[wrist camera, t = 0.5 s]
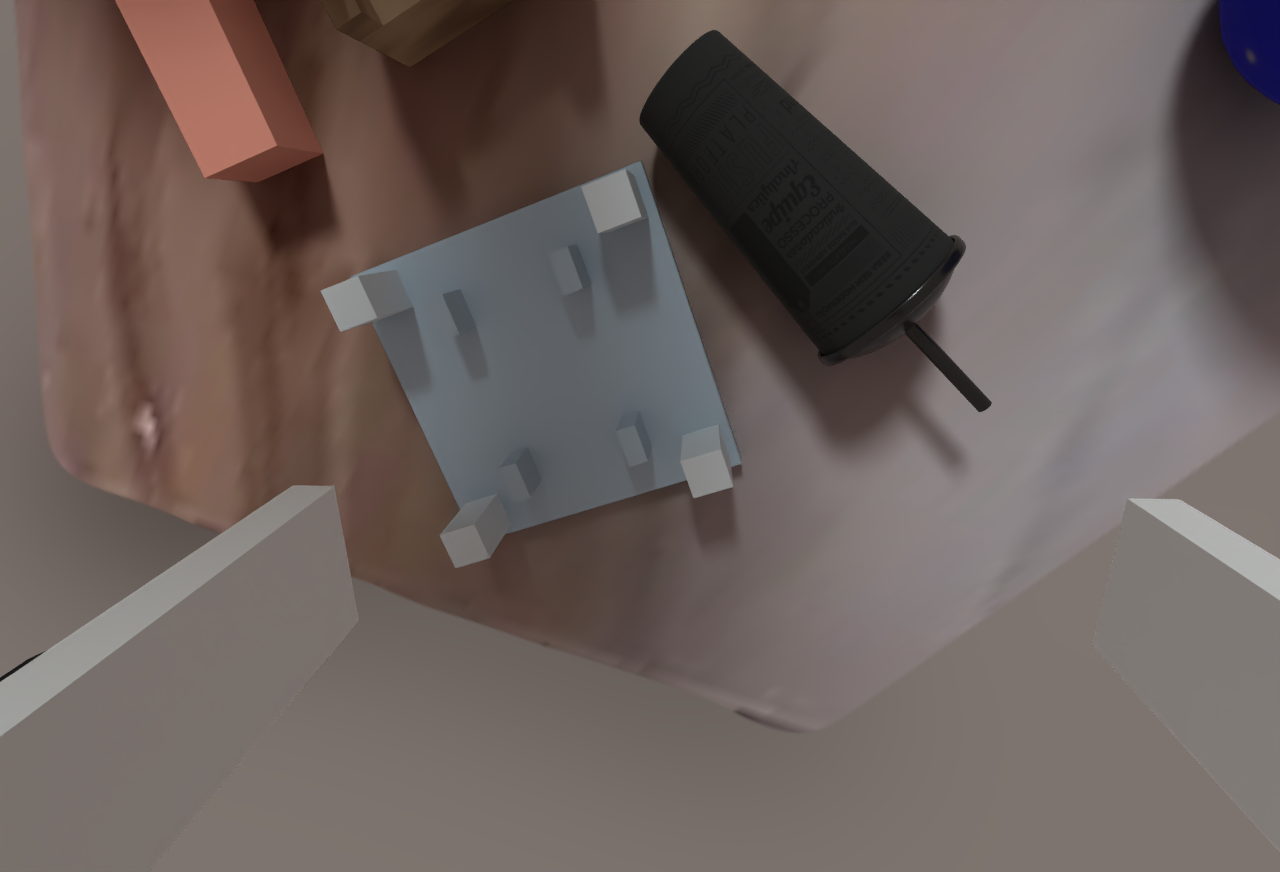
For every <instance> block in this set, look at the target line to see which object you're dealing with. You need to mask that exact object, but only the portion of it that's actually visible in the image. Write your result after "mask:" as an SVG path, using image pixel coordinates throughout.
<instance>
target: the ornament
mask: <svg viewBox="0 0 1280 872" xmlns="http://www.w3.org/2000/svg"><path fill="white" fill-rule="evenodd" d="M1218 2H1219V18H1220V27H1221V35H1222V41H1223V43H1224V46H1225V48H1226V50H1227V52H1228V54H1229V57H1230V59H1231V61H1232V63H1233V65H1234V67H1235V68H1236V69H1237V71H1238V72H1239V73H1240V74H1241V75H1242V76H1243V78H1244V79H1245V80H1246V81H1247V82H1248V83H1249V84H1250V85H1252V86H1253V87H1254V88H1255V89H1257V90H1258V91H1259V92H1260V93H1262V94H1263V95H1264V96H1266V97H1267V98H1269V99H1270V100H1272V101H1274V102H1275V103H1277V104H1279V105H1280V0H1218Z"/></svg>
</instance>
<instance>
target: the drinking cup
mask: <svg viewBox="0 0 1280 872" xmlns="http://www.w3.org/2000/svg"><path fill="white" fill-rule="evenodd" d="M639 121H640V124H641V126H642V127H643V128H644V130H645V131H646V132H647V134H648V135H649V136H650V137H651V139H652V140H653V141H654V142H655V144H656V145H657V146H658V147H659V149H660V150H661V151H662V152H663V154H664V155H665V156H666V158H667V159H668V160H669V161H670V163H671V164H672V165H673V166H674V168H675V169H676V170H677V171H678V173H679V174H680V175H681V176H682V178H683V179H684V180H685V182H686V183H687V184H688V185H689V187H690V188H691V189H692V190H693V192H694V193H695V194H696V195H697V197H698V198H699V199H700V200H701V202H702V203H703V204H704V205H705V207H706V208H707V209H708V211H709V212H710V213H711V214H712V216H713V217H714V218H715V219H716V221H717V222H718V223H719V224H720V226H721V227H722V228H723V229H724V231H725V232H726V233H727V235H728V236H729V237H730V238H731V240H732V241H733V242H734V243H735V245H736V246H737V247H738V248H739V250H740V251H741V252H742V253H743V255H744V256H745V257H746V259H747V260H748V261H749V262H750V264H751V265H752V266H753V267H754V269H755V270H756V271H757V272H758V274H759V275H760V276H761V277H762V279H763V280H764V281H765V283H766V284H767V285H768V286H769V288H770V289H771V290H772V291H773V293H774V294H775V295H776V296H777V298H778V299H779V300H780V301H781V303H782V304H783V305H784V306H785V308H786V309H787V310H788V312H789V313H790V314H791V315H792V317H793V318H794V319H795V320H796V322H797V323H798V324H799V325H800V327H801V328H802V329H803V330H804V332H805V333H806V334H807V336H808V337H809V338H810V339H811V341H812V342H813V343H814V344H815V346H816V347H817V348H818V349H819V351H818V358H819V360H820V361H821V362H822V363H823V364H825V365H827V366H832V365H835V364H838V363H841V362H843V361H845V360H847V359H851V358H856V357H860V356H863V355H866V354H869V353H872V352H874V351H876V350H878V349H880V348H882V347H884V346H886V345H888V344H890V343H891V342H893V341H894V340H896V339H898V338H899V337H901V336H902V335H903V334H906V335H907V336H908V337H909V338H910V339H911V340H912V341H913V342H914V344H915V345H916V346H917V347H918V348H919V349H920V350H921V351H922V352H923V353H924V354H925V355H926V356H927V357H928V358H929V360H930V361H931V362H932V363H933V364H934V365H935V366H936V367H937V368H938V369H939V370H940V371H941V372H942V373H943V374H944V375H945V377H946V378H947V379H948V380H949V381H950V382H951V383H952V384H953V385H954V386H955V387H956V388H957V389H958V390H959V391H960V393H961V394H962V395H963V396H964V397H965V398H966V399H967V400H968V401H969V402H970V403H971V404H972V405H973V406H974V407H975V408H976V410H977V411H978V412H982V411H984V410H986V409H987V408H989V407H990V405H991V403H992V402H991V401H990V400H989V399H988V398H987V397H986V396H985V395H984V394H983V393H982V391H981V390H980V389H979V388H978V387H977V386H976V385H975V384H974V383H973V382H972V381H971V380H970V379H969V378H968V377H967V375H966V374H965V373H964V372H963V371H962V370H961V369H960V368H959V367H958V366H957V365H956V364H955V363H954V362H953V361H952V359H951V358H950V357H949V356H948V355H947V354H946V353H945V352H944V351H943V350H942V349H941V348H940V347H939V346H938V344H937V343H936V342H935V341H934V340H933V339H932V338H931V337H930V336H929V335H928V334H927V333H926V332H925V331H924V330H923V328H922V327H921V326H920V325H919V324H918V322H919V321H920V320H921V319H922V318H923V317H924V316H925V315H926V314H927V313H928V311H929V310H930V309H931V308H932V307H933V306H934V304H935V303H936V302H937V300H938V299H939V298H940V296H941V295H942V293H943V292H944V290H945V288H946V286H947V284H948V283H949V281H950V278H951V276H952V274H953V271H954V268H955V267H956V266H957V264H958V263H959V261H960V260H961V258H962V256H963V254H964V252H965V249H966V245H965V242H964V241H963V240H962V239H961V238H960V237H959V236H957V235H951V236H948V235H947V234H945V233H944V232H943V231H942V230H941V229H940V228H939V227H938V226H936V225H935V224H934V223H933V222H932V221H931V220H930V219H929V218H927V217H926V216H925V215H924V214H923V213H922V212H921V211H920V210H918V209H917V208H916V207H915V206H914V205H913V204H912V203H911V202H909V201H908V200H907V199H906V198H905V197H904V196H903V195H902V194H900V193H899V192H898V191H897V190H896V189H895V188H894V187H893V186H892V185H890V184H889V183H888V182H887V181H886V180H885V179H884V178H883V177H881V176H880V175H879V174H878V173H877V172H876V171H875V170H874V169H872V168H871V167H870V166H869V165H868V164H867V163H866V162H865V161H863V160H862V159H861V158H860V157H859V156H858V155H857V154H856V153H854V152H853V151H852V150H851V149H850V148H849V147H848V146H847V145H845V144H844V143H843V142H842V141H841V140H840V139H839V138H838V137H836V136H835V135H834V134H833V133H832V132H831V131H830V130H829V129H827V128H826V127H825V126H824V125H823V124H822V123H821V122H820V121H819V120H817V119H816V118H815V117H814V116H813V115H812V114H811V113H810V112H808V111H807V110H806V109H805V108H804V107H803V106H802V105H801V104H799V103H798V102H797V101H796V100H795V99H794V98H793V97H792V96H790V95H789V94H788V93H787V92H786V91H785V90H784V89H783V88H781V87H780V86H779V85H778V84H777V83H776V82H775V81H774V80H772V79H771V78H770V77H769V76H768V75H767V74H766V73H765V72H763V71H762V70H761V69H760V68H759V67H758V66H757V65H756V64H755V63H753V62H752V61H751V60H750V59H749V58H748V57H747V56H746V55H744V54H743V53H742V52H741V51H740V50H739V49H738V48H737V47H735V46H734V45H733V44H732V43H731V42H730V41H729V40H728V39H726V38H725V37H724V36H723V35H722V34H721V33H720V32H719V31H716V30H712V31H709V32H707V33H706V34H704V35H703V36H701V37H700V38H699V39H697V40H696V41H695V42H694V43H693V44H691V45H690V46H689V47H688V48H687V49H686V50H685V51H684V52H683V53H682V54H681V55H680V56H679V57H678V58H677V60H676V61H675V62H674V63H673V64H672V65H671V66H670V68H669V69H668V70H667V71H666V73H665V74H664V75H663V77H662V78H661V79H660V81H659V82H658V83H657V85H656V86H655V88H654V89H653V91H652V92H651V94H650V96H649V97H648V99H647V101H646V103H645V105H644V107H643V109H642V111H641V114H640V119H639Z"/></svg>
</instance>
